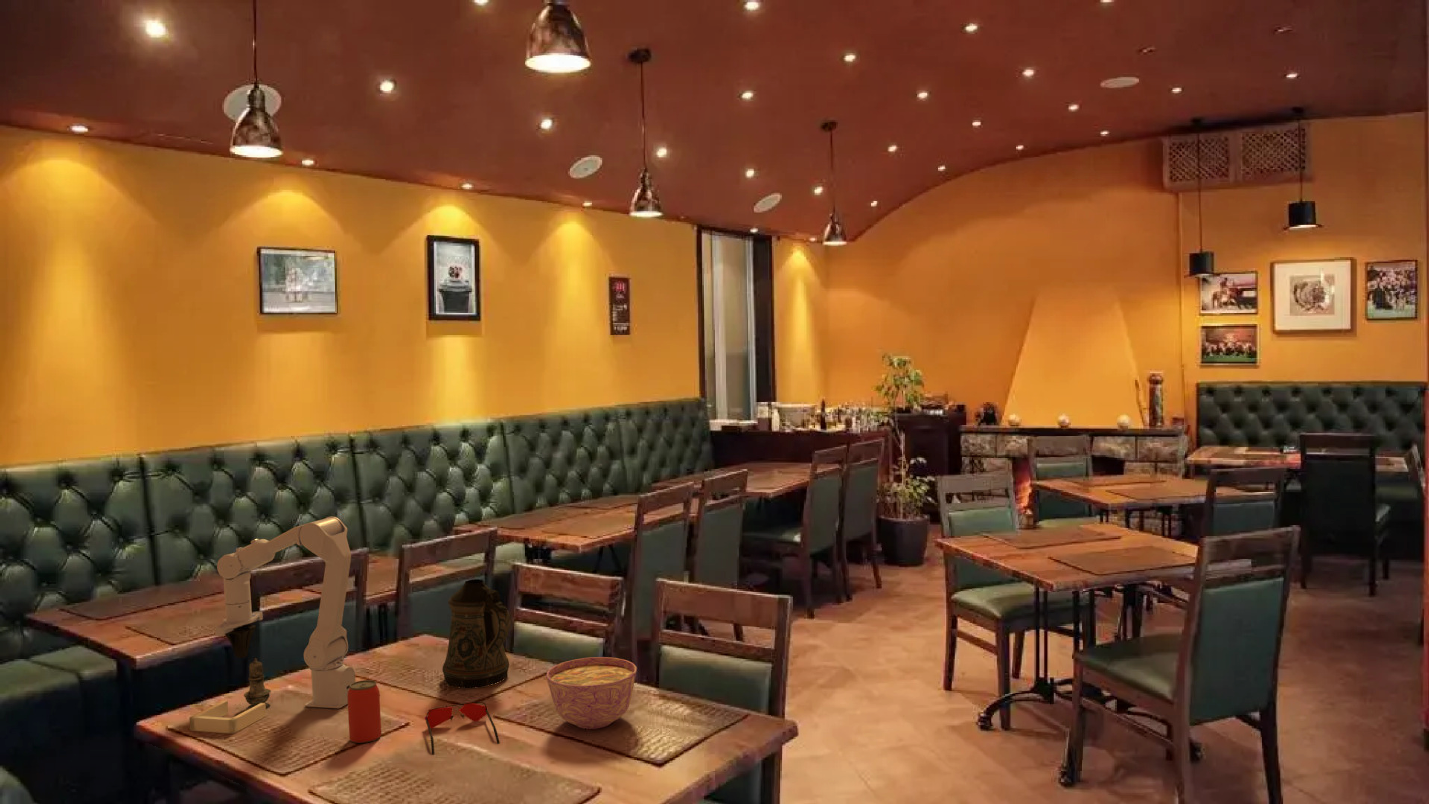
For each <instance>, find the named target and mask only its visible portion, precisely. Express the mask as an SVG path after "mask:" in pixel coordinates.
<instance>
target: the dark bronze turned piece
mask: <svg viewBox="0 0 1429 804" xmlns="http://www.w3.org/2000/svg"><path fill="white" fill-rule="evenodd" d="M248 669H249V676H248V680H249V690H248V691H246V692H245V693H244V694H243V696H244V698H245V701H246V702H247V703H248V704H249V705H248V706H247V707H246V709H245V711H247V710H249V709H250V708H252V707H254V706H256V705H258V704H260V703H265V704H266V710H268V709H269V708H270V707H271V704H270V703H268V702H267V701H268V700H269V698H270V693H271V692H272V690H271V689H269V688H266V686H265V682H264V678H265V677H266V676H265V675H264V673H263V672H264V670H263V663H262V662H261V661H259V660H258V659H257V658H256V657H255V658H254V660H253V662H251V663H250V664H249V667H248Z"/></svg>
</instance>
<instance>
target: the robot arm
mask: <svg viewBox="0 0 1429 804" xmlns="http://www.w3.org/2000/svg"><path fill="white" fill-rule="evenodd" d="M347 536H348V528H347V526H346V525H345V524H344V522H342V520H341V519H340V518H338V517H336V516H327V517H326V518H323V519H319V520H315V521H312V522H307V523H304V524H301V525H299V526H293V528H290V529H289V530H287V531H285V532H283V533H281V534H280V535H278V536H276V537H274V538H272V539H270V540H267V539H265V538H261V539H259V538H255V539H252V540H250V544H248V545H246V546H244V547H242V546H241V547H238V548H236V549H235V552H233V553H228V554H224V555H222V557H221V558H219V559H218V561H217V564H216V566H217V567H216V568H217V569H216V570H217V572H218V574H219V575H220V577H221V578H223V593H224V607H225V608H224V609H225V610H224V611H225V618H224V619H223V620H222V623H221V624H219V625H217V626H216V627H214V636H215V637H216V636H217V637H222V636H226V638H227V639H228V640H229V642H230V644H231V646H232V649H233V651H234V654H235V657H236V658H238V659H239V658H240V659H241V658H243V659H244V658H246V657H247V656H248V652H249V647H250V642H251V640H252V637H253V635H254V633H255V631H256V625H255V624H254V625H253V624H252V623H255V622H257V621H262V620H263V619H264V617H263V616H264V615H263V611H252V600H251V599H252V597H251V585H250V584H251V582H250V581H251V578H252V576H251V575H252V571H253V570H255V569H256V568H259V567H261V566H263V565H265V564H267V563H269V562H271V561H273V559H275V556H276V553H278V552H280V551H282V550H284V549H287V548H288V547H291V546H293V545H296V544H297V545H298V546H303V547H305V549H307V550H308V551H310V552H311V553H312V554H314V555H316V556H317V557H318V558H319V559H321V560H322V561H324V563H325V566H324V575H323V580H322V588H321V594H320V595H321V596H320V600H319V601H320V603H319V610H318V617H317V622H316V623H317V624H316V628H314V631H312V633H311V634H310V636H309V640H308V645H307V646H306V647H305V649H304V652H303V659H304V662H305V664H306V665H307V666H308V667H309V670H310V673H311V691H312V692H311V694H312V699H311V700H309V701H308V702H307V703H305V704H304V707H311V708H324V709H325V708H326V709H327V708H329V709H340V708H342V707H344V706H346V705H348V699H347V696H348V691H349V686H350V685H351V684H352V683H354V682H357V680H356V672H355V669H354V668H353V667H352V666H348V665H345V663H344V661H345V656H346V655H347V654H348V651H349V643H348V638H347V634H348V633H347V632H348V631H347V629H345V628H344V627H343V626H342V624H343V617H344V610H345V609H344V608H345V604H346V596H347V588H348V583H349V581H348V580H349V575H350V567H351V560H352V553H351V549H350V545H349V541H348V538H347Z"/></svg>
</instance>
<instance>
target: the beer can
mask: <svg viewBox="0 0 1429 804" xmlns="http://www.w3.org/2000/svg"><path fill="white" fill-rule="evenodd" d="M347 699H348V704H347V716H348V731H349V732H348V735H349V740H350V741H351V742H352V743H355V744H368V743H372V742H374V741H376V740H378V739H380V737H381V736H382V718H381V702H380V690H379V687H378V685H377V681H375V680H372V679H362V680H359V681H358V680H356V682H354V683H352V684H351V685H350V686H349V691H348V696H347Z"/></svg>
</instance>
